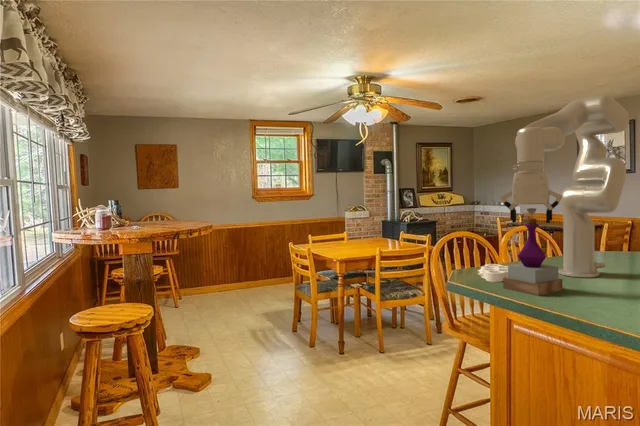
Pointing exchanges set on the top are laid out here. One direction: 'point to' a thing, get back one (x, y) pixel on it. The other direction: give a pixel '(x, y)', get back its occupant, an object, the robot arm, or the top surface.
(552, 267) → the tower top
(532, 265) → the perfume bottle
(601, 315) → the top surface
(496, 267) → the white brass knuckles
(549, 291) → the tower bottom
